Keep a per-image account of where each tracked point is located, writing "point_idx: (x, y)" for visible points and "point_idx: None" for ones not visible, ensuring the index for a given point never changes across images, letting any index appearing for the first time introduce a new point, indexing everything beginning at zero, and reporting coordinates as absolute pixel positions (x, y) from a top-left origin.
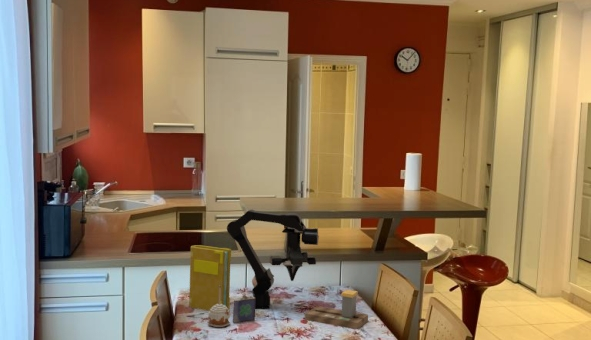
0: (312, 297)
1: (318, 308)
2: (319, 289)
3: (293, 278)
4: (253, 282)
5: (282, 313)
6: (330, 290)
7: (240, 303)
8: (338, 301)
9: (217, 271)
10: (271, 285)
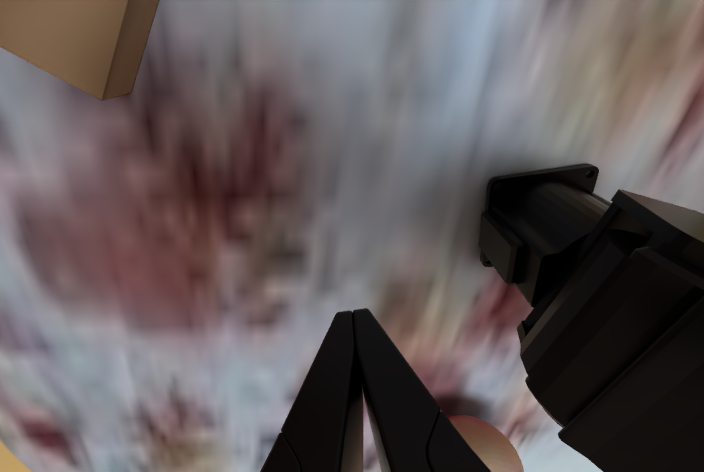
0: (201, 374)
1: (66, 1)
2: (177, 461)
3: (337, 335)
4: (518, 457)
5: (422, 52)
6: (122, 456)
7: None
8: (29, 325)
9: None
10: (595, 273)
